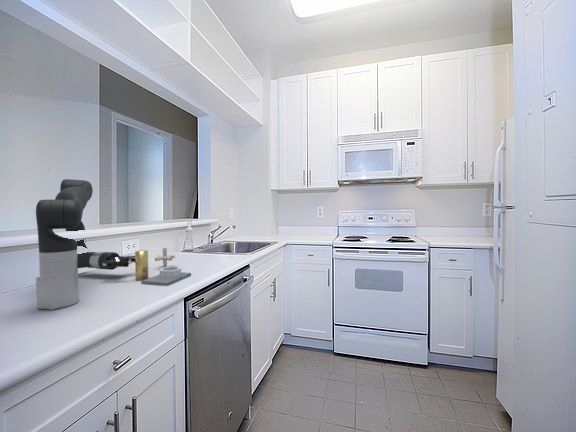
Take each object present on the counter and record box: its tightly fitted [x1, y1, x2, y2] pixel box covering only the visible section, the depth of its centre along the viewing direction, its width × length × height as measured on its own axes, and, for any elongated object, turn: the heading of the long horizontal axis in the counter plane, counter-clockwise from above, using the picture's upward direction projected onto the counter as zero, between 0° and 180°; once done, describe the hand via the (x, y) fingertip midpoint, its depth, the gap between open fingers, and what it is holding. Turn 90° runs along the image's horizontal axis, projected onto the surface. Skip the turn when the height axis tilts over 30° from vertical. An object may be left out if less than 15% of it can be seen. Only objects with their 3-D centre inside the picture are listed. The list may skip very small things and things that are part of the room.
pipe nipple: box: [134, 249, 149, 282], centre depth 115 cm, size 5×5×12 cm
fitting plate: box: [140, 265, 192, 287], centre depth 114 cm, size 16×12×4 cm
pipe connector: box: [154, 247, 176, 268], centre depth 136 cm, size 10×10×10 cm
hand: (136, 262), depth 115 cm, fingers open, 8 cm apart
